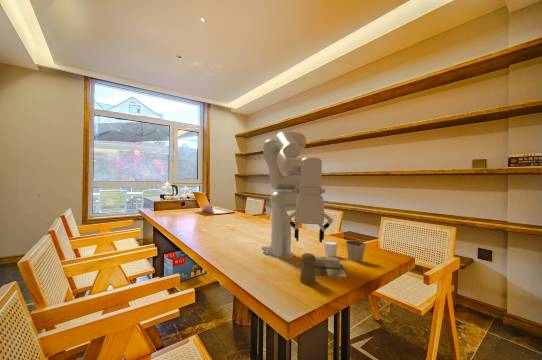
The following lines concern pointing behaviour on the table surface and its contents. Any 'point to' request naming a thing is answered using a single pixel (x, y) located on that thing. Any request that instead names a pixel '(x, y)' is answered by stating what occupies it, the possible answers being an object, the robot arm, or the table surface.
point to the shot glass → (330, 248)
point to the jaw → (327, 262)
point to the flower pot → (355, 250)
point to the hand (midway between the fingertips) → (308, 240)
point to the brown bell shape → (308, 269)
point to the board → (330, 270)
